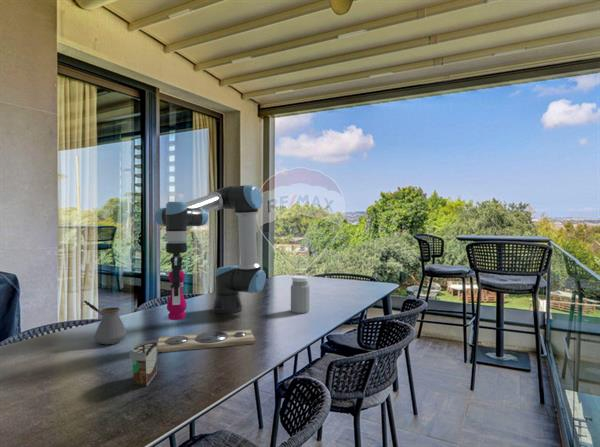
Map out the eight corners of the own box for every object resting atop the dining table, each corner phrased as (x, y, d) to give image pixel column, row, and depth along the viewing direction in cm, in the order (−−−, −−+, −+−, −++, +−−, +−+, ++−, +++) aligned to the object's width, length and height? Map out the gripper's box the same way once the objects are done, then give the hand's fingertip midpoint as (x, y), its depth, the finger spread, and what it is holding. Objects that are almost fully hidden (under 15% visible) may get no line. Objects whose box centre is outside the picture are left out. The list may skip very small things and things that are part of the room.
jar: (287, 312, 189) (287, 277, 189) (295, 308, 198) (295, 274, 198) (305, 314, 185) (305, 278, 185) (312, 310, 195) (312, 275, 194)
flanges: (196, 334, 150) (196, 332, 150) (243, 330, 155) (243, 328, 155) (196, 344, 138) (196, 342, 138) (247, 339, 143) (247, 337, 143)
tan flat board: (159, 340, 147) (159, 336, 147) (250, 332, 157) (250, 329, 157) (155, 353, 133) (155, 348, 133) (255, 343, 143) (255, 339, 143)
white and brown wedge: (138, 371, 118) (137, 340, 117) (158, 370, 118) (157, 339, 118) (122, 389, 105) (122, 354, 105) (145, 388, 106) (144, 353, 106)
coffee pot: (133, 339, 148) (133, 302, 148) (108, 348, 138) (107, 308, 138) (96, 332, 157) (96, 297, 157) (70, 341, 147) (70, 303, 146)
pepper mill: (180, 321, 138) (180, 267, 137) (163, 319, 139) (162, 266, 139) (190, 316, 145) (189, 264, 144) (173, 315, 146) (173, 264, 146)
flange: (166, 338, 145) (166, 337, 145) (188, 336, 147) (188, 335, 147) (165, 345, 137) (165, 343, 137) (187, 343, 139) (187, 341, 139)
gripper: (167, 240, 150) (168, 297, 150) (163, 244, 131) (164, 309, 131) (187, 240, 152) (187, 296, 152) (186, 243, 133) (186, 307, 133)
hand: (176, 302), depth 142 cm, fingers closed on pepper mill, 6 cm apart
